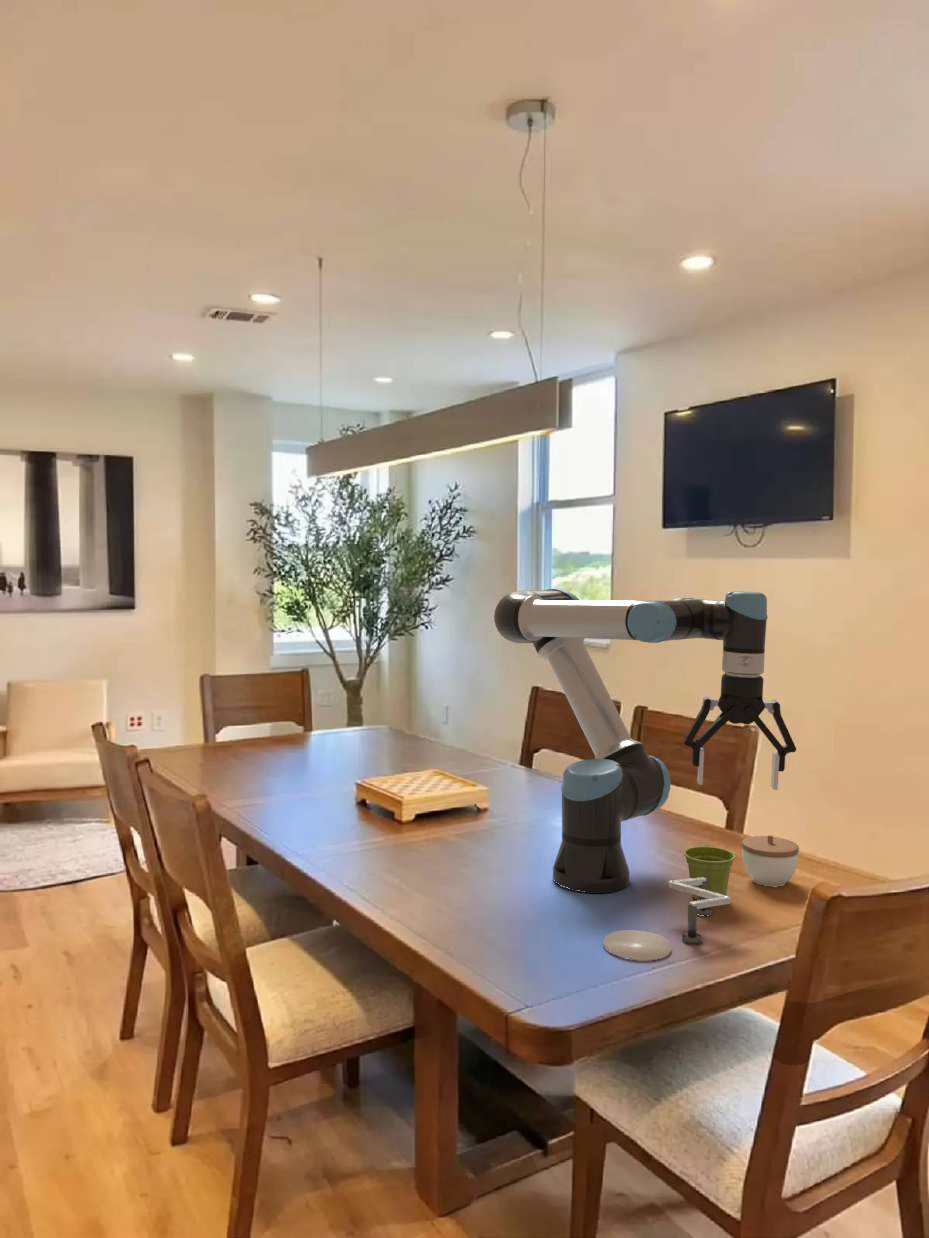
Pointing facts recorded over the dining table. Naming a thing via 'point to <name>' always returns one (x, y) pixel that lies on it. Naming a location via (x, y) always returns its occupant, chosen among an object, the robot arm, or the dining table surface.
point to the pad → (637, 945)
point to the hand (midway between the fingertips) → (736, 785)
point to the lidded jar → (770, 859)
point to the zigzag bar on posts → (697, 904)
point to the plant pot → (710, 867)
